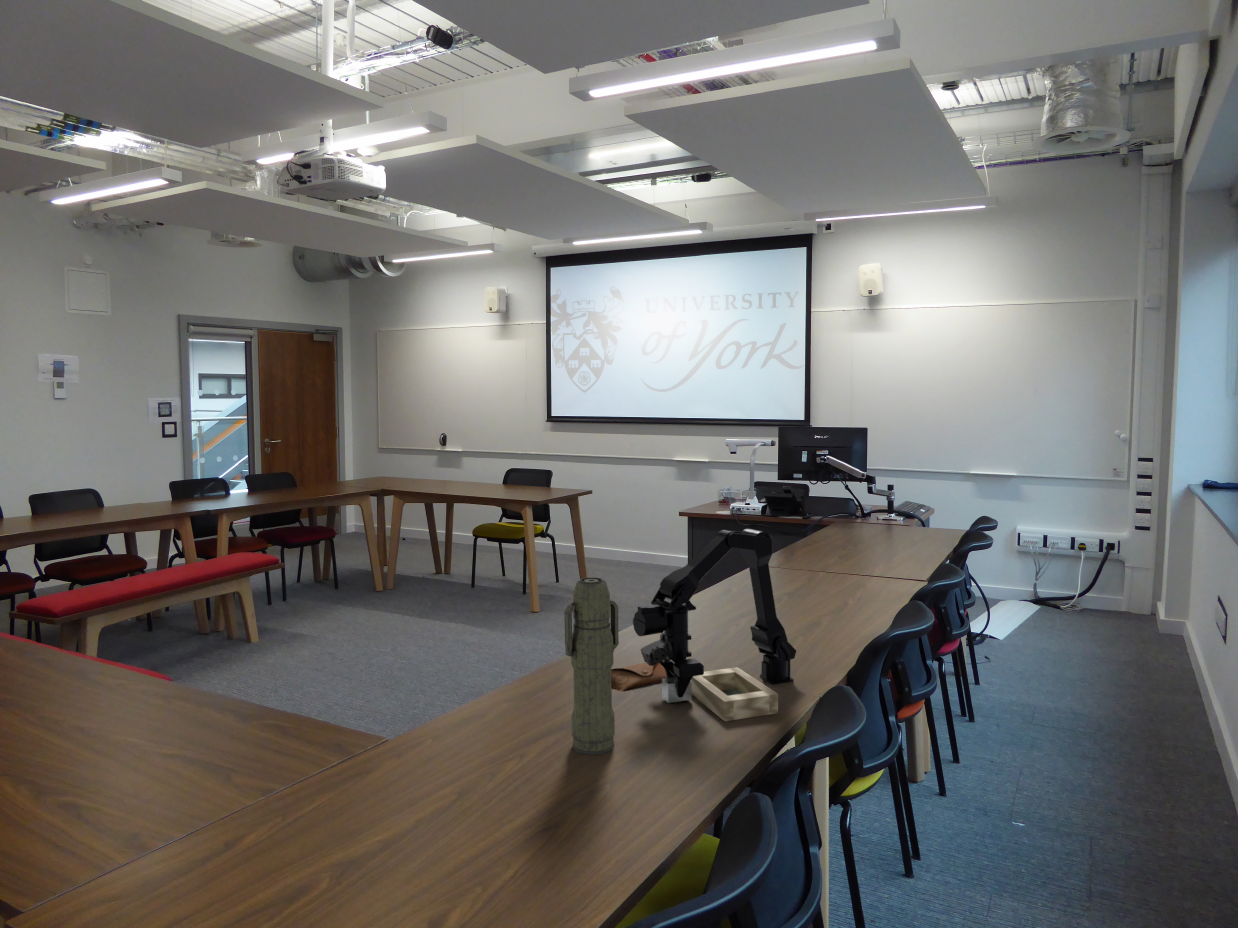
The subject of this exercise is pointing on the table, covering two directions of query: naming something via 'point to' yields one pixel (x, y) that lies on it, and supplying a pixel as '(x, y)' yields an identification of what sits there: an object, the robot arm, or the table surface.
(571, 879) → the table surface
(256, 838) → the table surface
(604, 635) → the thermos
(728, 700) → the well
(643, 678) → the sunglasses case
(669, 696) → the grey rectangular block
